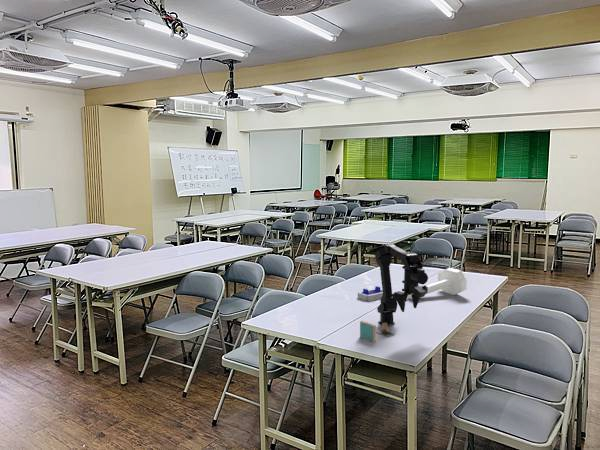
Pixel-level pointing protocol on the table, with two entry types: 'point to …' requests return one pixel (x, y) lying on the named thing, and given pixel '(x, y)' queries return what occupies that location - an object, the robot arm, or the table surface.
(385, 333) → the float
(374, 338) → the tile
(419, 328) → the table surface
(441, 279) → the white mallet
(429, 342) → the table surface
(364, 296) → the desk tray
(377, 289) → the cable clip
